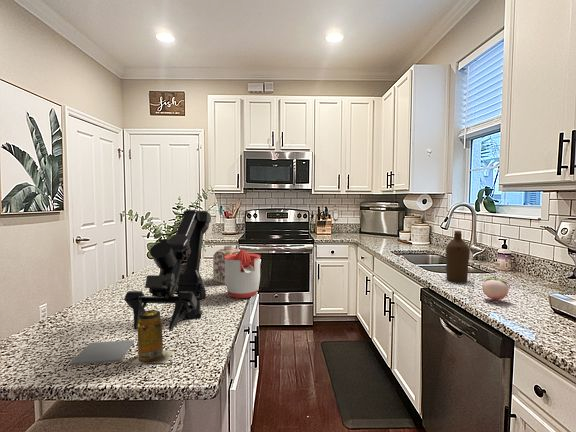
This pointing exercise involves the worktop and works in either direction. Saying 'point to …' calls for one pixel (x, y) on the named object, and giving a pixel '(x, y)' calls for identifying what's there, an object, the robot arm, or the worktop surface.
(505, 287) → the decorative fruit
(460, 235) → the olive oil
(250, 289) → the citrus juicer
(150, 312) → the condiment
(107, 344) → the mat
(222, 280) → the decorative jar
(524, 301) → the worktop surface
